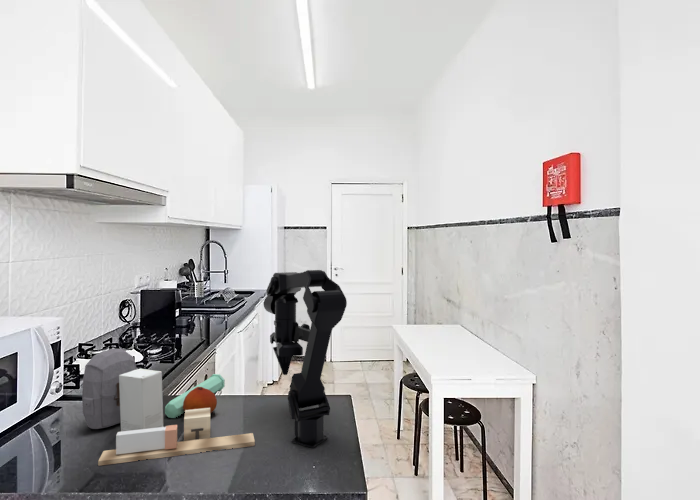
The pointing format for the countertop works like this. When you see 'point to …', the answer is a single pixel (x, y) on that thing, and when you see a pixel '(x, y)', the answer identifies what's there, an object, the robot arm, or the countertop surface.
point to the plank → (180, 449)
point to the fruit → (200, 399)
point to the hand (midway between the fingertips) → (285, 374)
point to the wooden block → (197, 424)
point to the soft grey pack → (104, 387)
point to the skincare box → (141, 399)
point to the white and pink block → (146, 439)
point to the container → (176, 405)
